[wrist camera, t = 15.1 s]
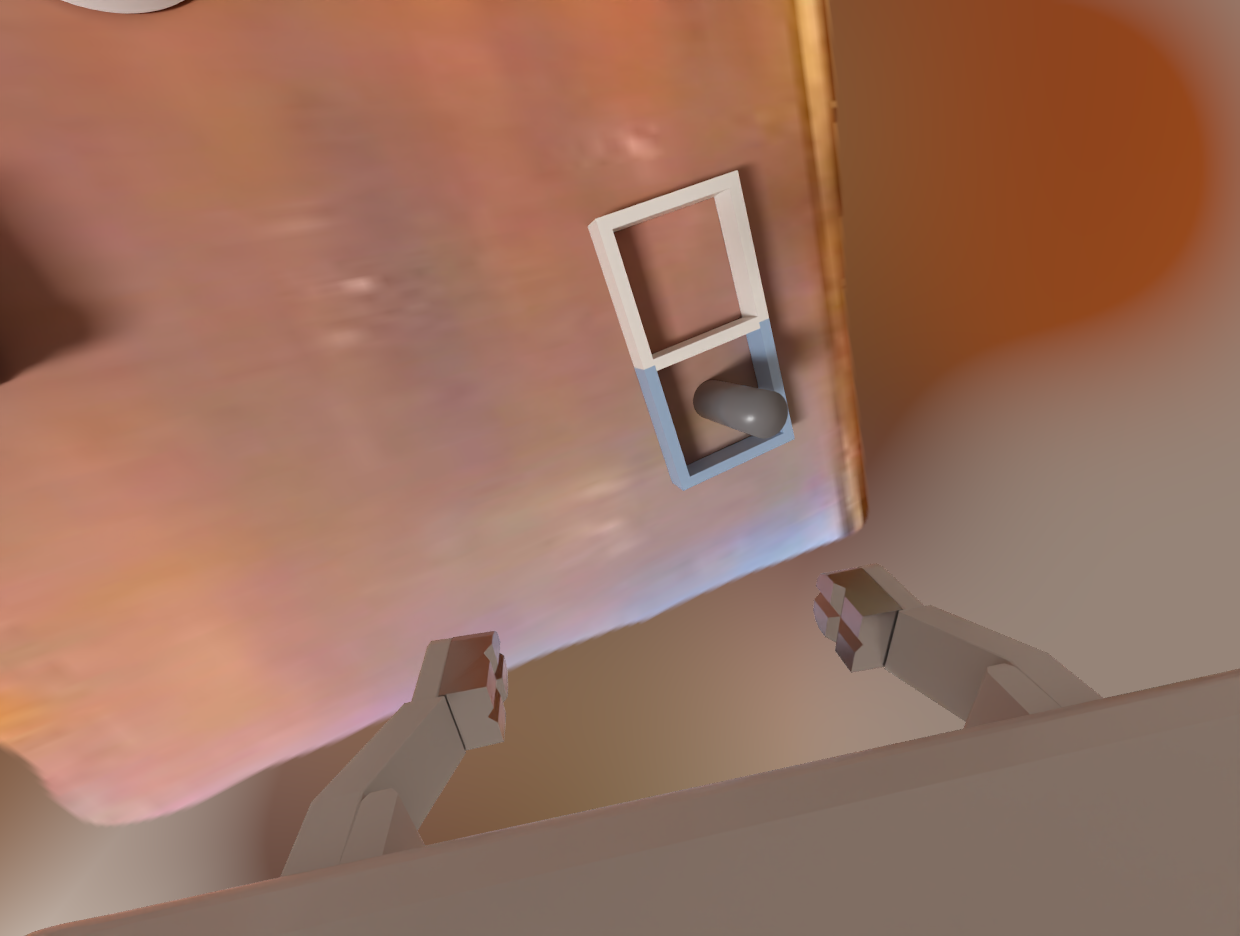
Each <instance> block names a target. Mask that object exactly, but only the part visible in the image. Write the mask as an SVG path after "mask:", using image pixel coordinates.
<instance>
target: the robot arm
mask: <svg viewBox="0 0 1240 936" xmlns="http://www.w3.org/2000/svg"><path fill="white" fill-rule="evenodd" d="M63 1H65V2H68V3H71V4H74V5H78V6H81V7H85V8H89V9H94V10H99V11H105V12H112V13H145V12H151V11H157V10H161V9H164V8H168V7H170V6H173V5H176V4H178V3H180V2H182V1H184V0H63ZM816 587H817V588H818V589H819V590H820V593H819V595H818V596H817V597H816V598H815V600H814V608H813V611H814V615H815V620H816V622H817V625H818V627H819V629H820V630H821V632H822V633H823V635H824V636H825V637H827V638H828V639H830V640H832V641H834V642H836V648H835V651H836V652H837V654H838V655H839V657H840V658H841V659H842V661H843V662H844V664H845V665H846V666H847V668H848V669H849V670H850V672H851V673H852V672H857V671H864V670H869V669H875V668H882V667H885V670H887V671H889V672H890V673H892V674H893V675H895V676H896V677H898V678H899V679H901V680H902V681H904V682H906V683H907V684H908V685H910V686H912V687H913V688H915V689H916V690H918V691H919V692H921V693H922V694H924V695H925V696H927V697H928V698H930V699H931V700H933V701H935V702H936V703H938V704H939V705H941V706H942V707H944V708H945V709H947V710H949V711H950V712H951V713H953V714H955V715H956V716H958V717H959V718H961V719H962V720H964V721H965V722H966V723H965V726H964V728H963V729H960V730H955V731H951V732H946V733H941V734H937V735H932V736H928V737H923V738H918V739H914V740H909V741H905V742H900V743H895V744H891V745H886V746H882V747H878V748H873V749H868V750H863V751H860V752H854V753H850V754H845V755H841V756H836V757H832V758H827V759H822V760H818V761H813V762H809V763H804V764H800V765H795V766H791V767H786V768H782V769H777V770H772V771H768V772H763V773H758V774H754V775H749V776H745V777H740V778H735V779H731V780H726V781H721V782H717V783H712V784H708V785H704V786H699V787H694V788H689V789H685V790H680V791H675V792H671V793H666V794H662V795H657V796H652V797H648V798H643V799H639V800H634V801H629V802H625V803H620V804H616V805H611V806H607V807H602V808H597V809H592V810H588V811H583V812H579V813H574V814H570V815H565V816H560V817H556V818H551V819H546V820H542V821H537V822H533V823H528V824H524V825H519V826H514V827H510V828H505V829H501V830H496V831H491V832H487V833H482V834H478V835H473V836H468V837H464V838H459V839H454V840H450V841H445V842H441V843H436V844H432V845H427V846H425V845H424V843H423V841H422V839H421V837H420V835H419V833H418V829H419V827H420V826H421V824H422V822H423V821H424V819H425V818H426V816H427V814H428V813H429V811H430V810H431V808H432V806H433V805H434V803H435V801H436V800H437V798H438V797H439V795H440V793H441V792H442V790H443V789H444V787H445V785H446V784H447V782H448V781H449V779H450V777H451V776H452V774H453V773H454V771H455V769H456V768H457V766H458V765H459V763H460V761H461V760H462V758H463V756H464V755H465V753H466V752H465V750H469V749H474V748H478V747H482V746H487V745H491V744H496V743H500V742H504V732H505V721H506V712H505V709H504V705H503V702H504V701H505V699H506V698H507V694H508V675H507V674H508V673H507V667H506V661H505V658H504V655H502V654H501V653H499V650H500V640H499V637H498V634H497V632H496V631H492V632H485V633H478V634H472V635H465V636H458V637H453V638H449V639H442V640H435V641H431V642H430V644H429V645H428V646H427V649H426V653H425V656H424V660H423V663H422V667H421V670H420V674H419V677H418V681H417V684H416V688H415V691H414V695H413V698H412V701H411V702H408V703H404V704H403V706H402V707H401V708H400V709H399V710H398V711H397V712H396V713H395V714H394V715H393V716H392V717H391V718H390V719H389V720H388V722H387V723H386V724H385V725H384V726H383V727H382V728H381V729H380V730H379V731H378V732H377V733H376V734H375V735H374V736H373V737H372V739H371V740H370V741H369V742H368V743H367V744H366V745H365V746H364V747H363V748H362V749H361V750H360V751H359V752H358V753H357V754H356V755H355V757H354V758H353V759H352V760H351V761H350V762H349V763H348V764H347V765H346V766H345V767H344V768H343V769H342V770H341V771H340V773H339V774H338V775H337V776H336V777H335V778H334V779H333V780H332V781H331V782H330V783H329V784H328V785H327V786H326V787H325V788H324V789H323V791H322V792H321V793H320V794H319V795H318V796H317V797H316V798H315V799H314V800H313V801H312V802H311V805H310V807H309V810H308V812H307V814H306V817H305V819H304V821H303V824H302V826H301V829H300V831H299V833H298V836H297V838H296V841H295V843H294V845H293V848H292V850H291V853H290V855H289V857H288V860H287V862H286V865H285V867H284V870H283V872H282V874H281V877H279V878H275V879H270V880H266V881H261V882H256V883H252V884H247V885H243V886H238V887H233V888H229V889H224V890H220V891H215V892H210V893H206V894H202V895H197V896H192V897H187V898H183V899H178V900H174V901H169V902H164V903H160V904H155V905H151V906H146V907H142V908H137V909H132V910H128V911H123V912H119V913H114V914H110V915H104V916H100V917H94V918H89V919H84V920H79V921H74V922H69V923H64V924H60V925H56V926H52V927H49V928H44V929H41V930H38V931H35V932H32V933H30V934H27V935H25V936H1240V669H1235V670H1231V671H1226V672H1222V673H1217V674H1213V675H1208V676H1203V677H1199V678H1194V679H1190V680H1185V681H1180V682H1176V683H1172V684H1167V685H1163V686H1158V687H1153V688H1149V689H1144V690H1139V691H1135V692H1130V693H1126V694H1121V695H1117V696H1112V697H1107V698H1103V697H1101V696H1100V695H1099V694H1097V693H1096V692H1095V691H1094V690H1093V689H1092V688H1090V687H1089V686H1088V685H1087V684H1085V683H1084V682H1083V681H1082V680H1080V679H1079V678H1078V677H1077V676H1075V675H1074V674H1073V673H1072V672H1071V671H1069V670H1068V669H1067V668H1066V667H1064V666H1063V665H1062V664H1061V663H1059V662H1058V661H1057V660H1056V659H1055V658H1053V657H1052V656H1051V655H1049V654H1048V653H1046V652H1044V651H1041V650H1039V649H1037V648H1034V647H1032V646H1029V645H1027V644H1024V643H1022V642H1019V641H1017V640H1015V639H1012V638H1010V637H1007V636H1005V635H1003V634H1000V633H998V632H995V631H993V630H990V629H988V628H985V627H983V626H980V625H978V624H976V623H973V622H971V621H968V620H966V619H964V618H961V617H959V616H956V615H954V614H951V613H949V612H946V611H944V610H942V609H939V608H937V607H934V606H932V605H928V606H924V605H923V604H922V603H921V602H920V601H919V600H918V599H917V598H916V597H915V596H914V595H912V593H911V592H909V591H908V590H907V589H906V588H905V587H904V586H903V585H902V584H901V583H900V582H899V581H898V580H897V579H896V578H895V577H893V576H892V575H891V574H890V573H889V572H888V571H887V570H886V569H885V568H884V567H883V566H881V565H879V564H870V565H865V566H859V567H857V568H849V569H845V570H839V571H834V572H828V573H823V574H820V575H819V577H818V579H817V584H816Z"/></svg>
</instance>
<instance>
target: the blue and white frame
mask: <svg viewBox="0 0 1240 936" xmlns="http://www.w3.org/2000/svg"><path fill="white" fill-rule="evenodd" d="M712 197H714V199H715V203H716V207H717V211H718V216H719V220H720V224H721V229H722V233H723V237H724V241H725V246H726V250H727V254H728V259H729V263H730V267H731V272H732V276H733V280H734V284H735V289H736V293H737V297H738V302H739V306H740V310H741V314H742V318H740V319H738V320H735V321H733V322H730V323H728V324H725V325H723V326H720V327H718V328H715V329H713V330H710V331H708V332H706V333H703V334H701V335H698V336H696V337H693V338H691V339H688V340H686V341H683V342H681V343H678V344H676V345H674V346H671V347H669V348H666V349H664V350H661V351H659V352H656V353H654V354H651V351H650V348H649V345H648V341H647V338H646V335H645V332H644V329H643V325H642V322H641V319H640V316H639V313H638V309H637V306H636V303H635V300H634V297H633V293H632V290H631V287H630V284H629V281H628V277H627V274H626V271H625V268H624V265H623V261H622V258H621V255H620V252H619V249H618V245H617V242H616V239H615V236H614V233H613V232H616V231H619V230H622V229H625V228H627V227H630V226H633V225H636V224H639V223H642V222H644V221H647V220H650V219H653V218H656V217H659V216H661V215H664V214H667V213H670V212H673V211H676V210H678V209H681V208H684V207H687V206H690V205H693V204H695V203H698V202H701V201H704V200H707V199H710V198H712ZM588 229H589V232H590V235H591V238H592V241H593V244H594V247H595V250H596V253H597V256H598V259H599V262H600V265H601V268H602V271H603V274H604V277H605V280H606V283H607V286H608V289H609V292H610V295H611V298H612V301H613V304H614V307H615V310H616V313H617V316H618V319H619V322H620V325H621V329H622V332H623V335H624V338H625V341H626V344H627V347H628V350H629V353H630V356H631V359H632V362H633V365H634V368H635V371H636V374H637V377H638V380H639V383H640V386H641V389H642V392H643V395H644V398H645V401H646V404H647V407H648V410H649V413H650V416H651V419H652V422H653V425H654V428H655V431H656V434H657V437H658V441H659V444H660V447H661V450H662V453H663V456H664V459H665V462H666V465H667V468H668V471H669V474H670V477H671V480H672V483H674V484H675V485H676V486H678V487H679V488H680V489H681V490H683V491H684V490H686V489H688V488H690V487H692V486H695V485H697V484H699V483H701V482H703V481H705V480H707V479H710V478H712V477H714V476H716V475H718V474H720V473H722V472H725V471H727V470H729V469H731V468H733V467H735V466H737V465H740V464H742V463H744V462H746V461H748V460H750V459H752V458H755V457H757V456H759V455H761V454H763V453H765V452H767V451H770V450H772V449H774V448H776V447H778V446H780V445H782V444H785V443H787V442H789V441H791V440H793V439H795V438H794V434H793V429H792V424H791V419H790V415H789V410H788V417H787V420H786V423H785V425H784V427H783V428H782V429H781V431H780V432H779V433H777V434H776V435H775V436H773V437H770V438H766V439H762V438H758V437H755V436H750V437H748V438H746V439H744V440H741V441H739V442H737V443H735V444H733V445H731V446H728V447H726V448H724V449H722V450H720V451H717V452H715V453H713V454H711V455H709V456H706V457H704V458H702V459H700V460H698V461H695V462H693V463H691V464H689V465H687V466H686V463H685V460H684V456H683V453H682V450H681V447H680V444H679V440H678V437H677V434H676V431H675V428H674V424H673V421H672V418H671V415H670V412H669V408H668V405H667V402H666V399H665V396H664V392H663V389H662V386H661V383H660V380H659V376H658V373H657V371H658V370H661V369H663V368H665V367H668V366H670V365H673V364H675V363H678V362H680V361H682V360H685V359H687V358H690V357H692V356H694V355H697V354H699V353H702V352H704V351H707V350H709V349H711V348H714V347H716V346H719V345H721V344H723V343H726V342H728V341H731V340H733V339H736V338H738V337H740V336H743V335H745V334H746V336H747V340H748V344H749V349H750V353H751V357H752V362H753V366H754V370H755V375H756V379H757V383H758V387H759V388H760V389H765V390H770V391H775V392H777V393H779V394H781V395H782V396H783V397H784V399H785V400H786V396H785V391H784V386H783V382H782V377H781V372H780V368H779V363H778V358H777V353H776V349H775V344H774V339H773V335H772V330H771V325H770V320H769V316H768V311H767V306H766V302H765V297H764V292H763V287H762V283H761V278H760V273H759V269H758V264H757V259H756V254H755V250H754V245H753V240H752V236H751V231H750V226H749V221H748V217H747V212H746V207H745V203H744V198H743V193H742V189H741V184H740V179H739V174H738V170H736V171H733V172H730V173H727V174H724V175H721V176H718V177H715V178H713V179H710V180H707V181H704V182H701V183H698V184H695V185H692V186H689V187H686V188H684V189H681V190H678V191H675V192H672V193H669V194H666V195H663V196H660V197H657V198H655V199H652V200H649V201H646V202H643V203H640V204H637V205H634V206H631V207H629V208H626V209H623V210H620V211H617V212H614V213H611V214H608V215H605V216H602V217H600V218H597V219H595V220H594V221H593V222H592V223H591V224H590V225H589V226H588ZM786 403H787V401H786ZM787 406H788V405H787Z"/></svg>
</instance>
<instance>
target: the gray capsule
mask: <svg viewBox="0 0 1240 936" xmlns="http://www.w3.org/2000/svg"><path fill="white" fill-rule="evenodd" d="M693 404H694V408H695V410H696V412H697V413H698V414H699V415H700V416H701V417H704V418H706V419H709V420H712V421H714V422H717V423H720V424H722V425H725V426H728V427H731V428H733V429H736V430H739V431H741V432H744V433H747V434H750V435H752V436H755V437H758V438H762V439H766V438H770V437H773V436H775V435H776V434H777V433H779V432H780V431H781V429H782V428H783V427H784V425H785V423H786V420H787V417H788V406H787V403H786V400H785V399H784V397H783V396H782V395H781V394H779V393H777V392H775V391H770V390H765V389H760V388H754V387H749V386H744V385H739V384H734V383H729V382H723V381H718V380H708V381H705V382H703V383H702V384H701V385H700V386H699V387H698V388H697V390H696V391H695V394H694V398H693Z"/></svg>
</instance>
